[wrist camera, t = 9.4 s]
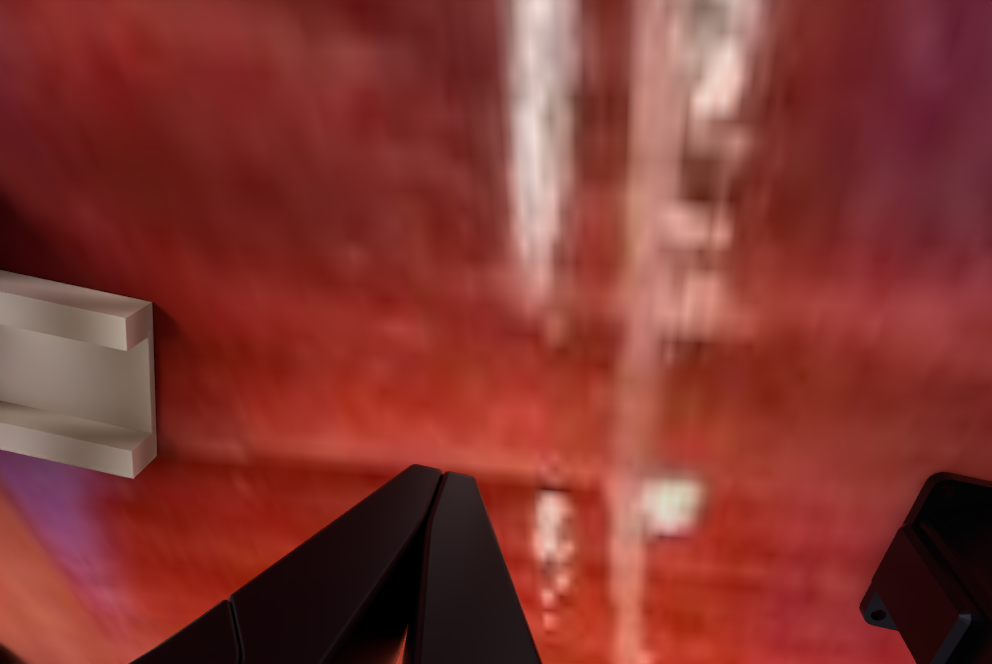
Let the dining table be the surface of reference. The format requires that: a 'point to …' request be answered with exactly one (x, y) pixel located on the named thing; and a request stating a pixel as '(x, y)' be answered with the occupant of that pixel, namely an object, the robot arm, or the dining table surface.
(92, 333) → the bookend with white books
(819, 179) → the dining table surface
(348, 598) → the robot arm
